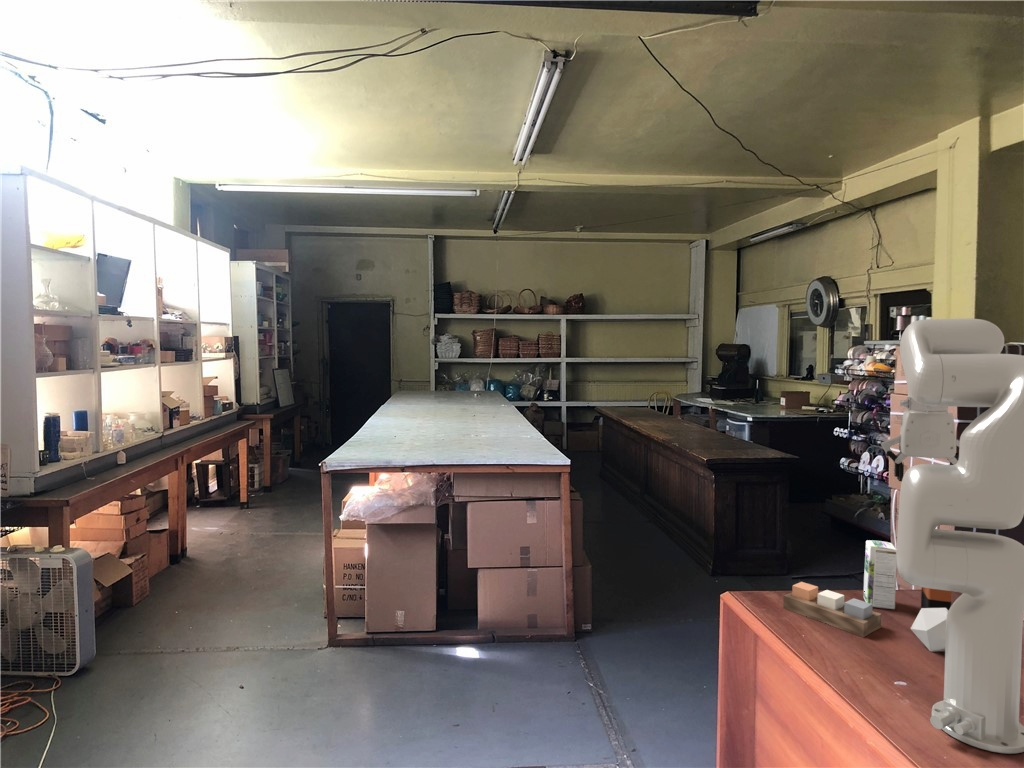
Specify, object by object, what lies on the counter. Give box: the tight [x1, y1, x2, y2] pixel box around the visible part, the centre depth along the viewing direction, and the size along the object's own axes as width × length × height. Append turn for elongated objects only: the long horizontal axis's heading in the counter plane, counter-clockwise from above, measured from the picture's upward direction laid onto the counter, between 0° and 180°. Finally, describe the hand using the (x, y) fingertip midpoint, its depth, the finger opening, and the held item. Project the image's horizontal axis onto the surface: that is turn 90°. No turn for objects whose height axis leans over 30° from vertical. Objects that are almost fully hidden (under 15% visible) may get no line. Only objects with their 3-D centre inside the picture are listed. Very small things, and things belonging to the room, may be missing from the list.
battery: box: [920, 587, 953, 611], centre depth 136 cm, size 4×7×10 cm, turn 158°
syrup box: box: [863, 539, 898, 610], centre depth 145 cm, size 6×6×14 cm
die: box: [910, 607, 948, 652], centre depth 123 cm, size 8×9×10 cm
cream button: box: [817, 589, 845, 610], centre depth 138 cm, size 4×4×3 cm
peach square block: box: [791, 581, 819, 601], centre depth 143 cm, size 4×4×3 cm
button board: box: [782, 592, 882, 638], centre depth 138 cm, size 18×8×3 cm, turn 35°
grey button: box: [844, 597, 874, 620], centre depth 133 cm, size 4×4×3 cm
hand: (925, 481), depth 136 cm, fingers open, 9 cm apart
